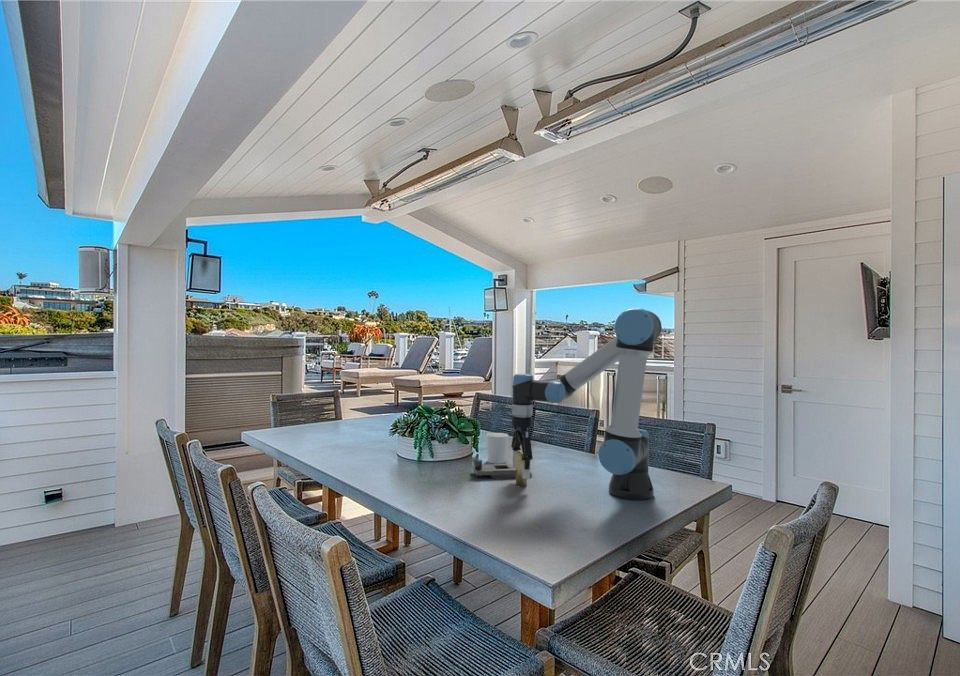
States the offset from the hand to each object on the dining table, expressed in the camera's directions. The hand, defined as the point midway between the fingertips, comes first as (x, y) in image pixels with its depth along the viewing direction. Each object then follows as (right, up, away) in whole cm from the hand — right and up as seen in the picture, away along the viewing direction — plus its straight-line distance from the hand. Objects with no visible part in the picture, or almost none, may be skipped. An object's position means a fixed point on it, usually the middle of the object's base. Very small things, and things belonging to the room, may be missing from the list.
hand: (520, 472), depth 178 cm
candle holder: (-8, -5, +35) cm, 36 cm away
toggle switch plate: (-7, -5, +14) cm, 16 cm away
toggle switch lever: (0, -5, 0) cm, 5 cm away
